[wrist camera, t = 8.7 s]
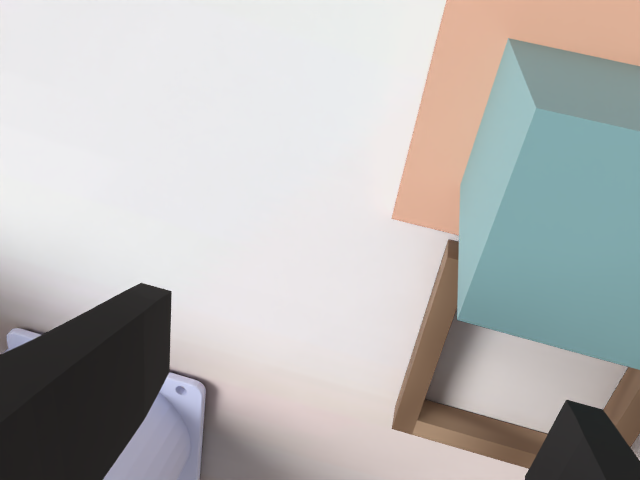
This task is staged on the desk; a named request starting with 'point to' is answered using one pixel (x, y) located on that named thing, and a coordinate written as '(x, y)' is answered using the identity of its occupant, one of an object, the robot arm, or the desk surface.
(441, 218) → the terracotta tile
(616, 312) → the teal block
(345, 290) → the desk surface
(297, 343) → the desk surface
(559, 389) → the desk surface
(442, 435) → the pocket frame
